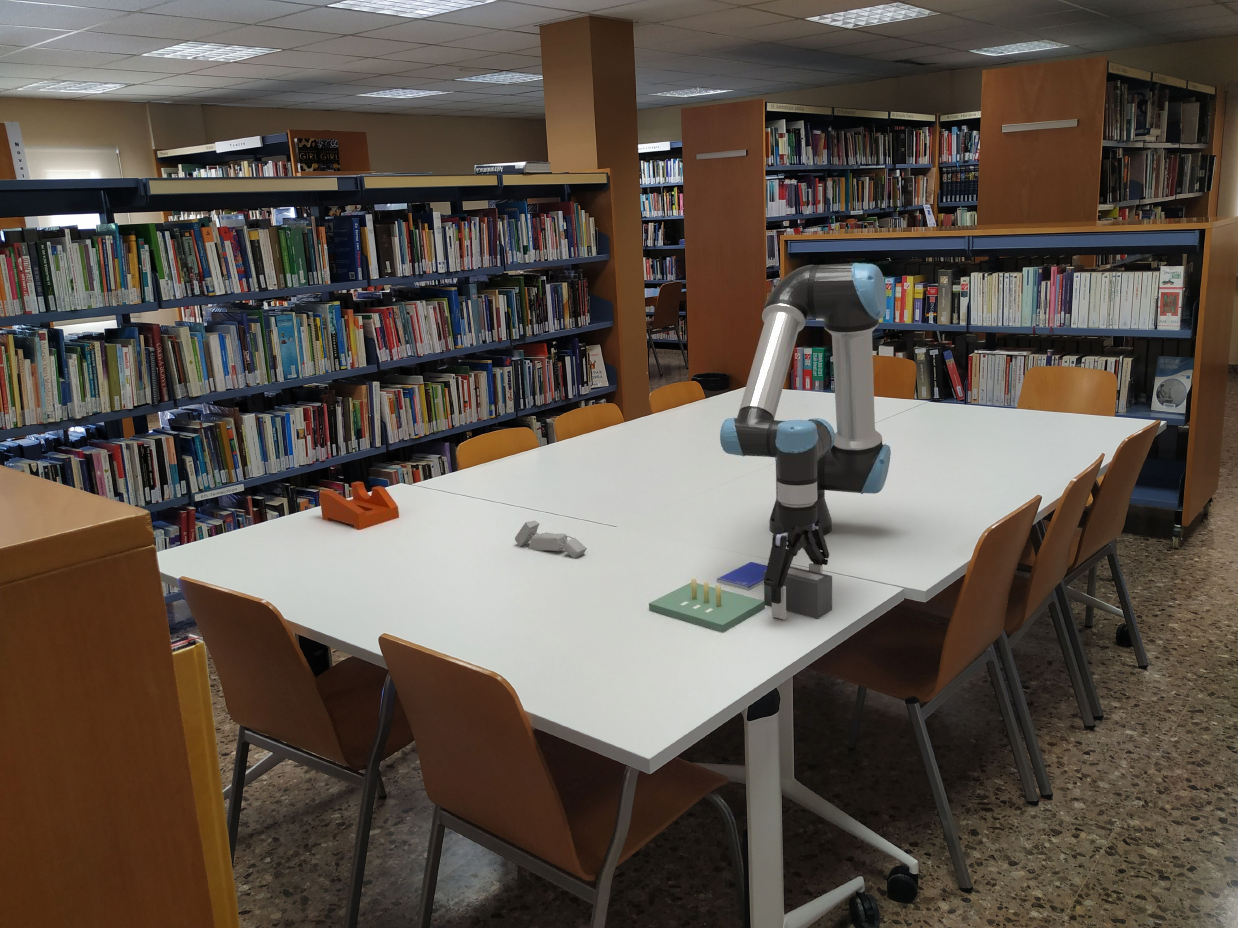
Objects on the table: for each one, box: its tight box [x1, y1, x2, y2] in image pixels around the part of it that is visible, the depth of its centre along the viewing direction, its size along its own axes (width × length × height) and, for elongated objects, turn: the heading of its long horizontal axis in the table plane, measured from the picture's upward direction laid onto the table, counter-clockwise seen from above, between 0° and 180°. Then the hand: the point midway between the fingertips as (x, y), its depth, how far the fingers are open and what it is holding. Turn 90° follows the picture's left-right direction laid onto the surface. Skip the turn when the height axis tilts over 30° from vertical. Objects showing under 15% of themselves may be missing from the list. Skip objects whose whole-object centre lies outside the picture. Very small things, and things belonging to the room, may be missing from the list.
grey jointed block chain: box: [514, 520, 588, 559], centre depth 223 cm, size 20×4×7 cm, turn 53°
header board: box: [648, 578, 766, 633], centre depth 183 cm, size 14×18×6 cm
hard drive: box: [716, 561, 768, 592], centre depth 199 cm, size 2×8×12 cm
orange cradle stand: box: [318, 481, 400, 531], centre depth 257 cm, size 18×13×8 cm
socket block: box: [763, 565, 833, 620], centre depth 182 cm, size 5×12×7 cm, turn 48°
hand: (797, 606), depth 183 cm, fingers open, 13 cm apart
